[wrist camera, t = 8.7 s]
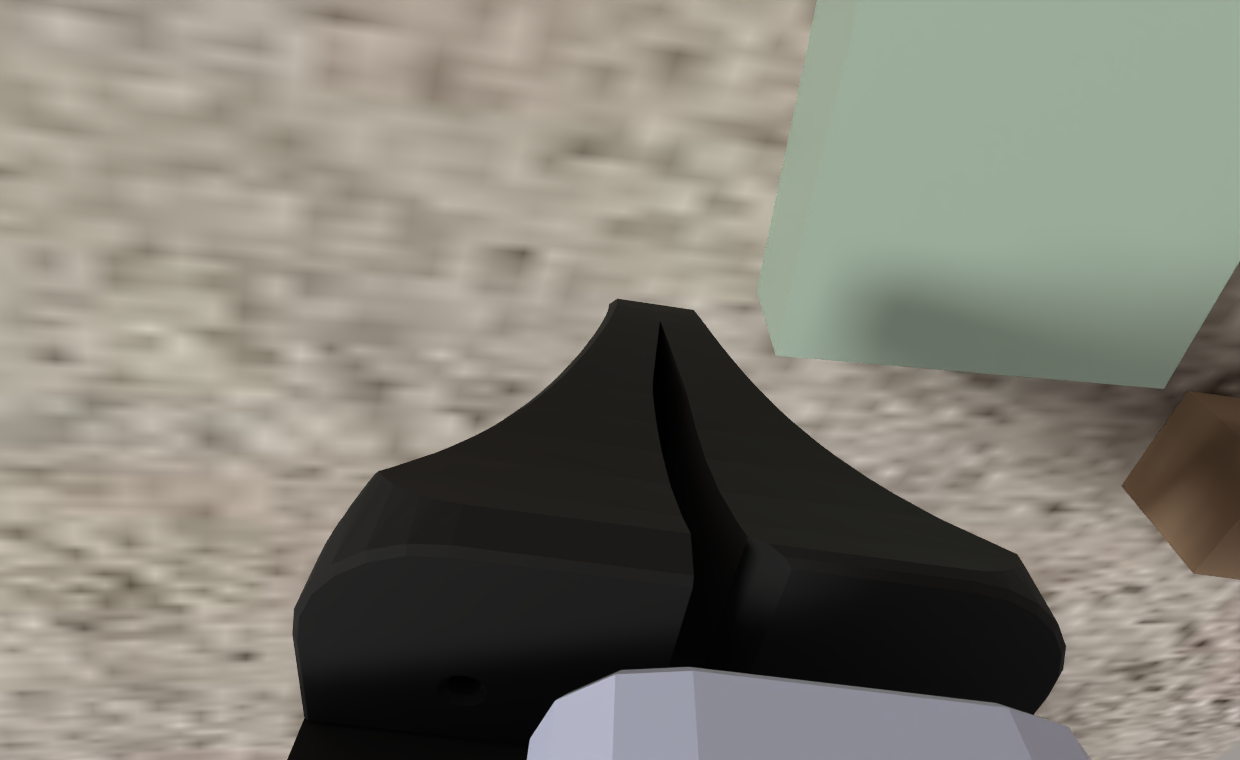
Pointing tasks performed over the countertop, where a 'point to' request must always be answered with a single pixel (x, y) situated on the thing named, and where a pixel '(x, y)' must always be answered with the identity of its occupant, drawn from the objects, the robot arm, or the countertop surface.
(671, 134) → the countertop surface
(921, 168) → the sage block
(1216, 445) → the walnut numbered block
